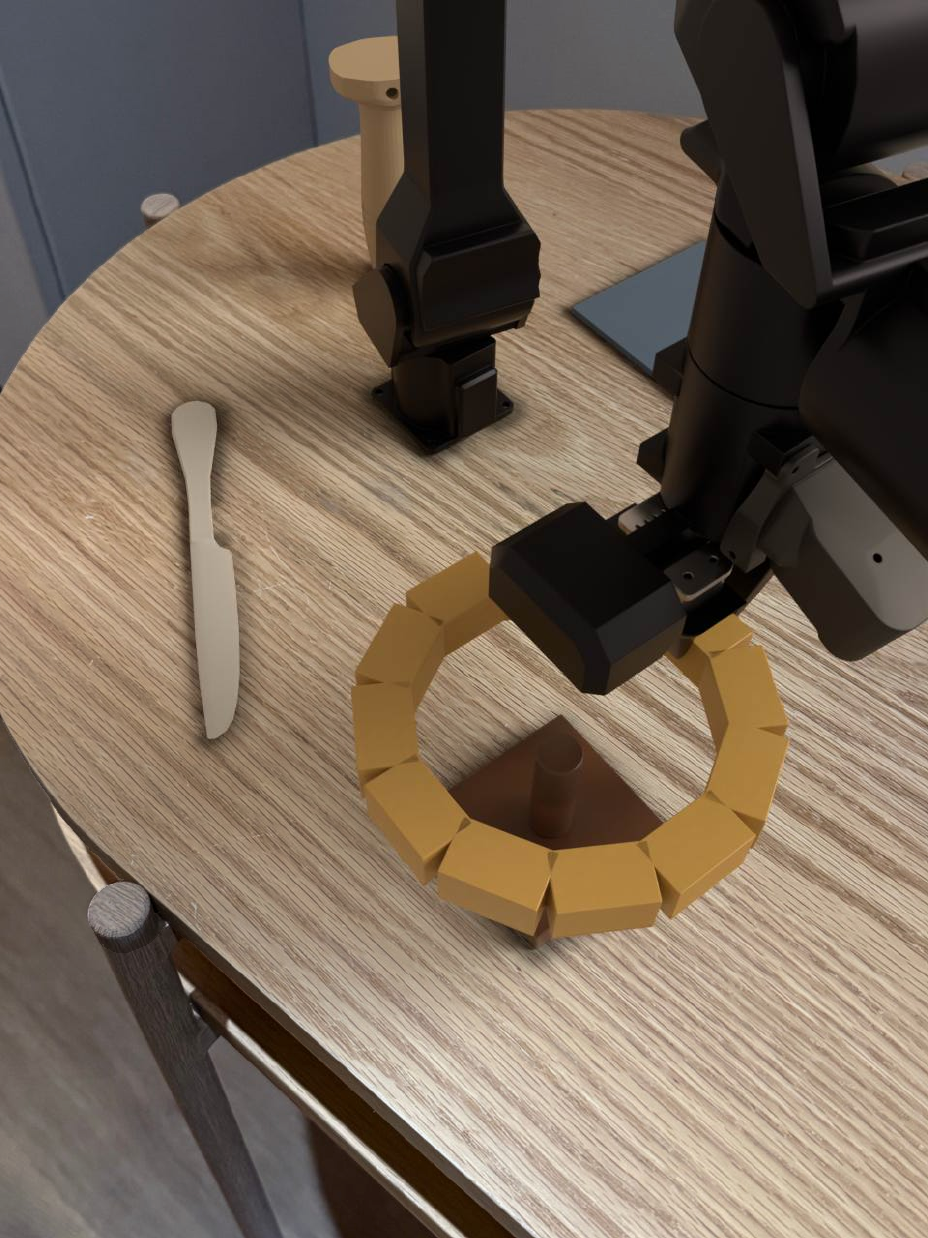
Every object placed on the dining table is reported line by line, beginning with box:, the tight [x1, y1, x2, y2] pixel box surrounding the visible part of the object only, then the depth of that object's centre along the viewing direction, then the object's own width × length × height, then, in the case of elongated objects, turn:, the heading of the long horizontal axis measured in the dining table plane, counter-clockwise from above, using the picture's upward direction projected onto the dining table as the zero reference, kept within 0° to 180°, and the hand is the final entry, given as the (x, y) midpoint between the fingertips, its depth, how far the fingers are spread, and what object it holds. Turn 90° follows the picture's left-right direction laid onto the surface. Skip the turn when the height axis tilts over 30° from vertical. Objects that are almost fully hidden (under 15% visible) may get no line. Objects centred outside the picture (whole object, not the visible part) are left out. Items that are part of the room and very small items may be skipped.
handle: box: [328, 35, 404, 269], centre depth 72 cm, size 5×6×15 cm
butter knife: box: [171, 400, 241, 740], centre depth 63 cm, size 1×24×3 cm
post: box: [446, 714, 664, 950], centre depth 50 cm, size 8×8×8 cm
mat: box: [570, 240, 707, 396], centre depth 75 cm, size 12×12×1 cm
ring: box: [350, 545, 791, 939], centre depth 46 cm, size 17×17×2 cm
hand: (695, 635), depth 49 cm, fingers closed on ring, 2 cm apart
